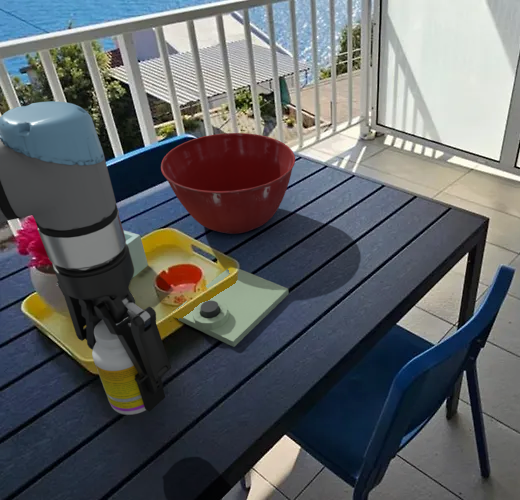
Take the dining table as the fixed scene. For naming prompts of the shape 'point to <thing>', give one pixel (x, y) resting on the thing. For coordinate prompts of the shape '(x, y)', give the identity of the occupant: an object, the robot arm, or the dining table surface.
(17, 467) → the dining table surface
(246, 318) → the scale
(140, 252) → the right angle wall
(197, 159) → the mixing bowl
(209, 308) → the button
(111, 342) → the supplement bottle
